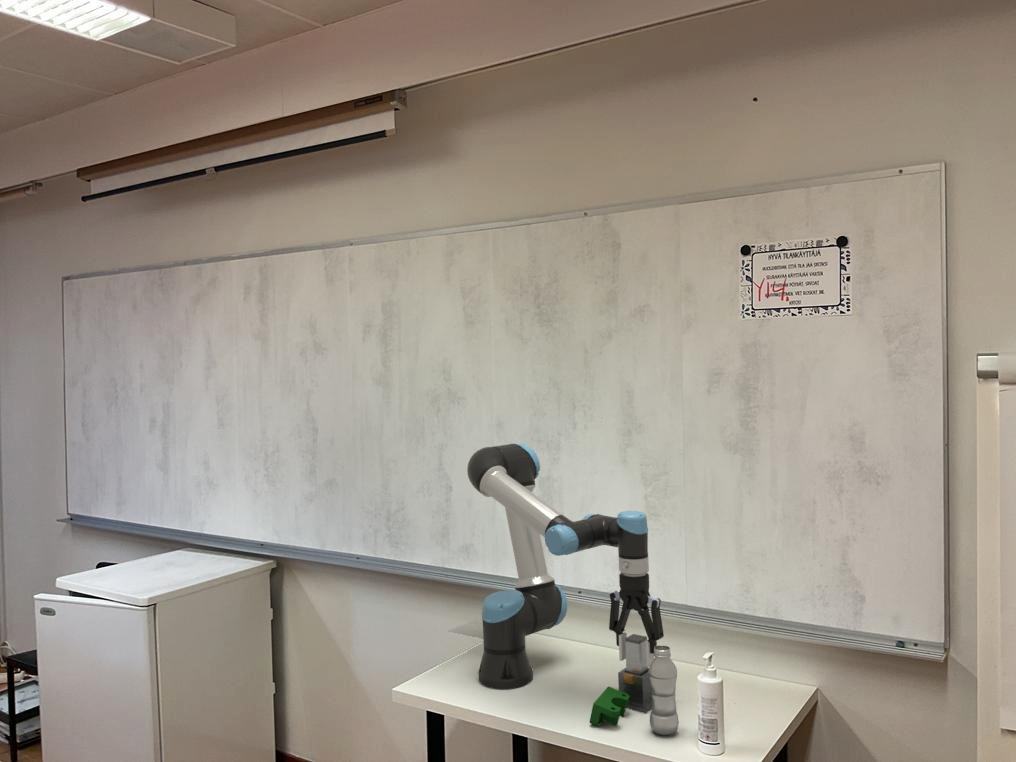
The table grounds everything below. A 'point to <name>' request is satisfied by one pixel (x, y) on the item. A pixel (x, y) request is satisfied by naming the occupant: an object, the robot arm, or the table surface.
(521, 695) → the table surface
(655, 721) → the plastic bottle
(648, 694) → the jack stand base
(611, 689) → the clamp
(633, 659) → the column
